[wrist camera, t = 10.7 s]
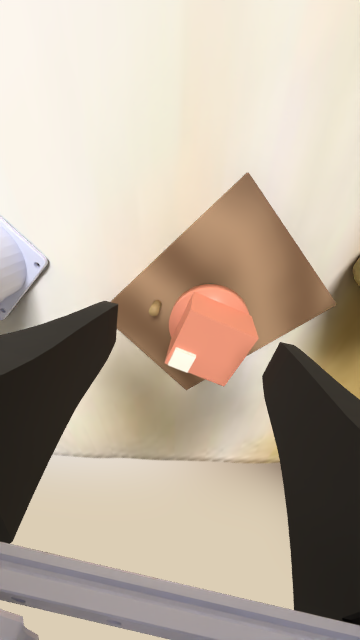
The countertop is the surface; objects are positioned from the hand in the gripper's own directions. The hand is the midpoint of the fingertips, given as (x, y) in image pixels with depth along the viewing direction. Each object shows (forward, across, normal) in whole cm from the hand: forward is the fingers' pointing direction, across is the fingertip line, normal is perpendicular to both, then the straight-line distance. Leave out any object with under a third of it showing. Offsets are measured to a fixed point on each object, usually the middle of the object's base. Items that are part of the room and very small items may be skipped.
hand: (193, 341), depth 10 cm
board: (+10, -1, +3) cm, 11 cm away
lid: (+7, -1, +3) cm, 8 cm away
